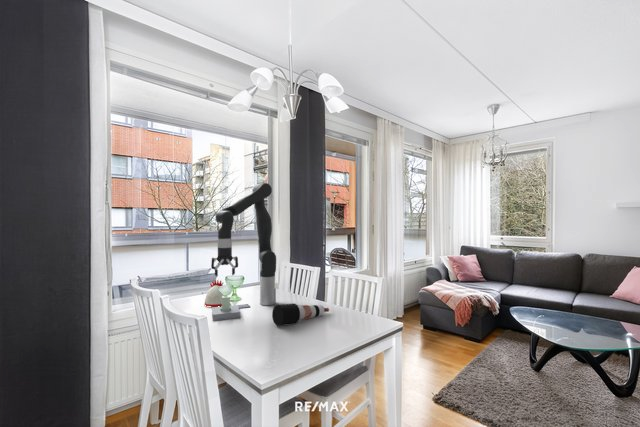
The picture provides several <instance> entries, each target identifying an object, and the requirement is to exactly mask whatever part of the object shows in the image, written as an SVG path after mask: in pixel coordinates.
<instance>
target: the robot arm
mask: <svg viewBox="0 0 640 427" xmlns="http://www.w3.org/2000/svg"><path fill="white" fill-rule="evenodd" d="M272 192H273V189H272V186H271V184H269V183H267V182H261V183H256V184H254V185H253V187H252V191H251V193H250V194H248V195H246V196H244V197H243V196H242V197H241V198H240V199H238V200H236V201H235V202H233V203H232V204H231V205H229V206H227V207H225V208H223V209H221V210H219V211H218V212H217V213H216V215H215V221H216V222H217V223H219V224H221V227H220V228H219V229H218V231H217V238H218V239H217V257H211V263H210V264H211V265H210V267H211V270H214V276H216V277H219V276H218V269H219V268H220V266H229V265H230V267H231V276H234V275H235V274H236V268H238V267H239V259H238V256H237V255H236V256H233V254H232V253H233V252H232V251H233V241H232V229H233V226H234V221H235V218H234V217H236V216H237V217H238V216H239V215H240V214H242V213H243V212H245V211H246V210H248V209H249V208H250V207H252V206H253V205H254V210H255V211H254V212H255V217H256V218H255V219H256V229H257V231H256V232H257V237H258V238H257V239H258V243H259V244H258V246H259V247H258V248H259V249H258V250H259V252H258V258H259V261H260V263H261V269H260V272H259V304H260V305H261V306H271V305H277V304H276V302H277V296H276V294H277V290H276V271H277V255H276V254H275V252H274V251H272V245H271V244H272V243H271V238H272V231H273V225H272V224H273V223H272V218H271V215H270V213H269V211H268V210H267V208H266V204H265V199H266V198H269V197H270V196H271V195H272ZM216 261H217V262H218V263H217V264H216V265H215V262H216ZM233 261H234V263H235V265H234V264H233V263H232V262H233ZM216 277H215V278H216Z"/></svg>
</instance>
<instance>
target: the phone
mask: <svg viewBox="0 0 640 427" xmlns="http://www.w3.org/2000/svg"><path fill="white" fill-rule="evenodd" d="M237 305H238V308H239V310H241V309H242V310H243V309H249V308H250V309H251V306H250V304H249V303H246V304H244V303H243V304H237Z"/></svg>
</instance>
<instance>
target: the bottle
mask: <svg viewBox="0 0 640 427" xmlns="http://www.w3.org/2000/svg"><path fill="white" fill-rule="evenodd" d="M329 311H330V308H329V307H324V305H322V304H313V305H312V304H310V305H308V304H305V305H298V304H297V303H285V304H284V303H281V304H275V305H274V307H273V308H272V313H271V315H272V316H271V317H272V321H273V324H274V325H275V326H277V327H280V326H289V325H295V324H297V323H298V322H299V321H304V320H309V319H314V318H317V317H322V316H324V315H325V313H327V312H329Z"/></svg>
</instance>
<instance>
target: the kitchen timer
mask: <svg viewBox="0 0 640 427" xmlns="http://www.w3.org/2000/svg"><path fill="white" fill-rule="evenodd" d="M223 284H224V282H222V279H220V281H219V279H217V280H216V279H215V280H214V281H212V283H210V284H209V285H210V289H208V291H207V292H206V295H205V298H204V306H205V305H206V306H211V307H210V308H212V307H218V306H221V307H222V296H224V295H223V294H222V293H221V292H220V291H219V288H218V287H219V286H222V287H223ZM206 306H205V307H206Z"/></svg>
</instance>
